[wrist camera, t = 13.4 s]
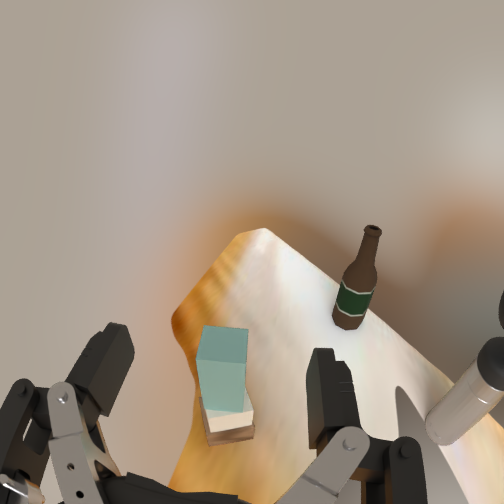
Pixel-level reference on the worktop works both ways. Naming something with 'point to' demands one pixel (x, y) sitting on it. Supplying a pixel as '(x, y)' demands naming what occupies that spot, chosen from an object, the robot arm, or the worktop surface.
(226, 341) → the teal block
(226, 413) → the cream block
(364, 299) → the beer bottle
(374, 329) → the worktop surface
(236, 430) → the walnut block
